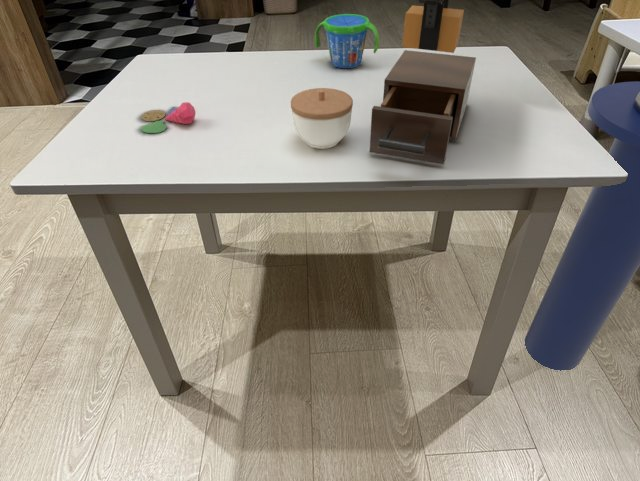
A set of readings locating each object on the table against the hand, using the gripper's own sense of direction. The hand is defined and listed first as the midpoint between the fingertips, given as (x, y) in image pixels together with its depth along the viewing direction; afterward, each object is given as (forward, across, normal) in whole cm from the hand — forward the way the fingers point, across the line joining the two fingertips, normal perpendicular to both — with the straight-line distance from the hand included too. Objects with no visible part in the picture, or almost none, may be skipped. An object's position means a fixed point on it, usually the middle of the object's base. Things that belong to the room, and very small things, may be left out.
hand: (431, 43), depth 71 cm
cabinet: (+17, +9, 0) cm, 19 cm away
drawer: (+16, -4, 0) cm, 16 cm away
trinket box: (+17, -6, +16) cm, 24 cm away
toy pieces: (+17, -8, +48) cm, 52 cm away
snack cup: (+17, +32, +25) cm, 44 cm away
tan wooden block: (0, 0, 0) cm, 0 cm away
